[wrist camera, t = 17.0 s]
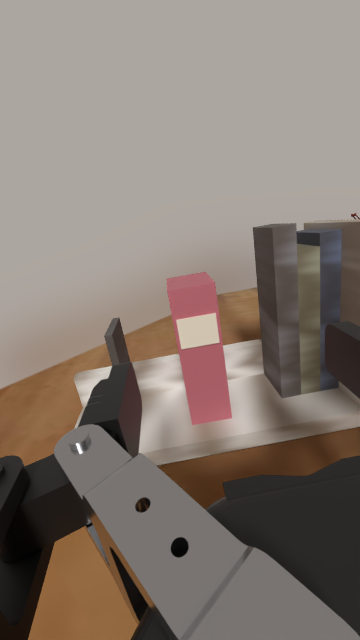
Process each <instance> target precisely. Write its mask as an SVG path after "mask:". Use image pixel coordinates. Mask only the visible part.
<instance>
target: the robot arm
mask: <svg viewBox="0 0 360 640" xmlns="http://www.w3.org/2000/svg"><path fill="white" fill-rule="evenodd" d="M325 363H326V366H327V369H328V371H329V372H330V373H331V375H333V376H334V377H335V378H336V379H337V380H338V381H339V382H341V383H342V384H343V385H344V386H345V387H346V388H348V389H349V390H350V391H351V392H352V393H353V394H354V395H356V396H357V397H358V398H359V399H360V327H359V326H357V325H355V324H353V323H351V322H349V321H344V322H339V323H333V324H328V325H327V326H326V328H325ZM141 419H142V399H141V394H140V391H139V387H138V383H137V379H136V375H135V371H134V368H133V365H132V363H131V362H128V363H123V364H117V365H113V366H112V368H111V371H110V374H109V377H108V379H103V380H101V381H100V382H99V383H98V384H97V385H96V386H95V387H94V388H93V390H92V392H91V395H90V398H89V400H88V402H87V405H86V407H85V410H84V412H83V415H82V417H81V420H80V422H79V425H78V427H77V428H75V429H73V430H71V431H70V432H68V433H67V434H65V435H64V436H63V437H62V438H61V439H60V440H59V441H58V443H57V444H56V446H55V449H54V454H52V455H50V456H48V457H46V458H44V459H41V460H39V461H37V462H34V463H32V464H30V465H27V466H24V464H23V462H22V460H21V458H20V457H18V456H5V457H2V458H0V640H28V637H29V633H30V630H31V626H32V622H33V619H34V615H35V611H36V608H37V604H38V601H39V597H40V593H41V590H42V586H43V582H44V579H45V575H46V571H47V568H48V564H49V560H50V557H51V553H52V550H53V546H54V542H55V541H57V540H59V539H61V538H63V537H65V536H67V535H69V534H70V533H72V532H74V531H76V530H78V529H80V528H82V527H85V529H86V531H87V532H88V534H89V536H90V538H91V539H92V541H93V543H94V545H95V546H96V548H97V550H98V552H99V553H100V555H101V557H102V559H103V560H104V562H105V564H106V566H107V567H108V569H109V571H110V573H111V574H112V576H113V578H114V580H115V582H116V584H117V586H118V588H119V590H120V592H121V594H122V596H123V598H124V600H125V602H126V604H127V606H128V608H129V610H130V612H131V614H132V615H133V617H134V619H135V621H136V623H137V624H138V627H137V628H136V630H135V632H134V634H133V636H132V638H131V640H360V456H355V457H350V458H345V459H341V460H339V461H337V462H335V463H333V464H331V465H329V466H327V467H325V468H323V469H321V470H319V471H317V472H315V473H313V474H311V475H308V476H281V475H259V476H254V477H248V478H243V479H238V480H233V481H228V482H223V487H224V493H225V497H223V498H221V499H219V500H217V501H216V502H214V503H213V504H211V505H210V506H209V507H208V508H207V509H204V508H202V507H201V506H200V505H199V504H198V503H197V502H196V501H195V500H194V499H193V498H191V497H190V496H189V495H188V494H187V493H186V492H185V491H184V490H183V489H181V488H180V487H179V486H178V485H177V484H176V483H175V482H174V481H173V480H171V479H170V478H169V477H168V476H167V475H166V474H165V473H164V472H163V471H162V470H160V469H159V468H158V467H157V466H156V465H155V464H154V463H153V462H152V461H150V460H149V459H148V458H147V457H146V456H145V455H143V454H142V453H139V442H140V431H141Z"/></svg>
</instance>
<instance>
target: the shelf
mask: <svg viewBox="0 0 360 640" xmlns="http://www.w3.org/2000/svg"><path fill="white" fill-rule="evenodd" d="M253 235H254V248H255V261H256V274H257V287H258V300H259V313H260V326H261V339H257V340H251V341H246V342H241V343H235V344H230V345H224V346H223V350H224V358H225V366H226V373H227V381H228V389H229V397H230V405H231V413H232V418H231V419H225V420H219V421H214V422H208V423H202V424H197V425H192V421H191V416H190V410H189V405H188V400H187V394H186V389H185V383H184V378H183V373H182V367H181V362H180V356H179V354H175V355H170V356H165V357H159V358H154V359H148V360H143V361H138V362H132V365H133V368H134V371H135V375H136V379H137V383H138V387H139V391H140V394H141V399H142V419H141V431H140V442H139V453H142V454H143V455H145V456H146V457H147V458H148V459H149V460H150V461H152V462H153V463H154V464H155V465H156V466H157V465H162V464H167V463H172V462H178V461H183V460H188V459H193V458H199V457H204V456H209V455H214V454H220V453H225V452H230V451H235V450H240V449H246V448H251V447H256V446H261V445H267V444H272V443H277V442H282V441H288V440H293V439H298V438H303V437H308V436H314V435H319V434H324V433H329V432H335V431H340V430H345V429H350V428H356V427H360V399H359V398H358V397H357V396H356V395H354V394H353V393H352V392H351V391H350V390H349V389H348V388H346V387H345V386H344V385H343V384H342V383H341V382H339V381H338V380H337V379H336V378H335V377H334V376H333V375H331V373H330V372H329V371H328V369H327V366H326V363H325V328H326V326H327V325H328V324H333V323H339V322H344V321H349V322H351V323H353V324H355V325H357V326H359V327H360V219H355V220H330V221H314V222H308V223H304V230H301V231H296V223H291V224H270V225H265V226H259V227H253ZM104 337H105V340H106V344H107V347H108V351H109V355H110V358H111V362H112V366H113V365H117V364H123V363H128V362H130V359H129V355H128V351H127V347H126V343H125V339H124V335H123V331H122V327H121V323H120V319H119V318H114V319H113V320H112V322H111V324H110V326H109V328H108V330H107V332H106V334H105V336H104ZM112 366H110V367H105V368H100V369H94V370H89V371H83V372H78V373H76V375H75V377H74V381H75V384H76V387H77V390H78V393H79V396H80V399H81V402H82V405H83V409H82V411H81V414H80V416H79V418H78V421H77V423H76V426H75V428H77V427H78V425H79V422H80V420H81V417H82V415H83V412H84V410H85V407H86V405H87V402H88V400H89V398H90V395H91V392H92V390H93V388H94V387H95V386H96V385H97V384H98V383H99V382H100V381H101V380H103V379H108V377H109V374H110V371H111V368H112ZM75 428H74V429H75Z"/></svg>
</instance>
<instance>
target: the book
mask: <svg viewBox="0 0 360 640" xmlns="http://www.w3.org/2000/svg"><path fill="white" fill-rule="evenodd" d="M167 292H168V297H169V302H170V308H171V313H172V319H173V324H174V329H175V335H176V340H177V346H178V351H179V356H180V362H181V367H182V373H183V378H184V383H185V389H186V394H187V400H188V405H189V410H190V416H191V421H192V425H197V424H202V423H208V422H214V421H219V420H225V419H231V418H232V413H231V405H230V397H229V389H228V381H227V373H226V366H225V358H224V350H223V342H222V334H221V326H220V318H219V311H218V303H217V295H216V287H215V282H214V281H213V280H212V279H211V278H210V277H209V275H208V274H207V273H206V272H202V273H196V274H190V275H185V276H179V277H173V278H168V279H167Z"/></svg>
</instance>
